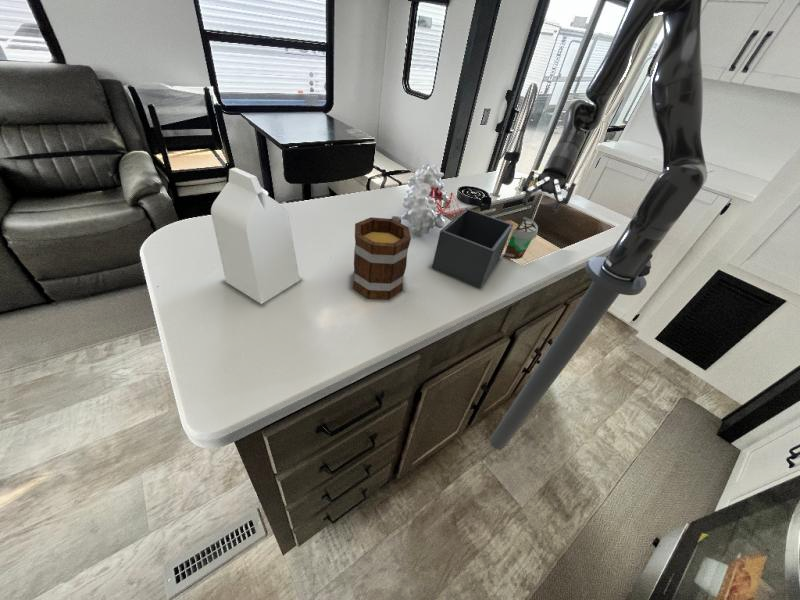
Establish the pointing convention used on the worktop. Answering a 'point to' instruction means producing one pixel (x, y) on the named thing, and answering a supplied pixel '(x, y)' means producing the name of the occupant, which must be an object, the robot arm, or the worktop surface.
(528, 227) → the food container
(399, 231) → the mug
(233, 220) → the milk
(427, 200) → the protein dna model
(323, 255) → the worktop surface
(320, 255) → the worktop surface
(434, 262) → the bin
